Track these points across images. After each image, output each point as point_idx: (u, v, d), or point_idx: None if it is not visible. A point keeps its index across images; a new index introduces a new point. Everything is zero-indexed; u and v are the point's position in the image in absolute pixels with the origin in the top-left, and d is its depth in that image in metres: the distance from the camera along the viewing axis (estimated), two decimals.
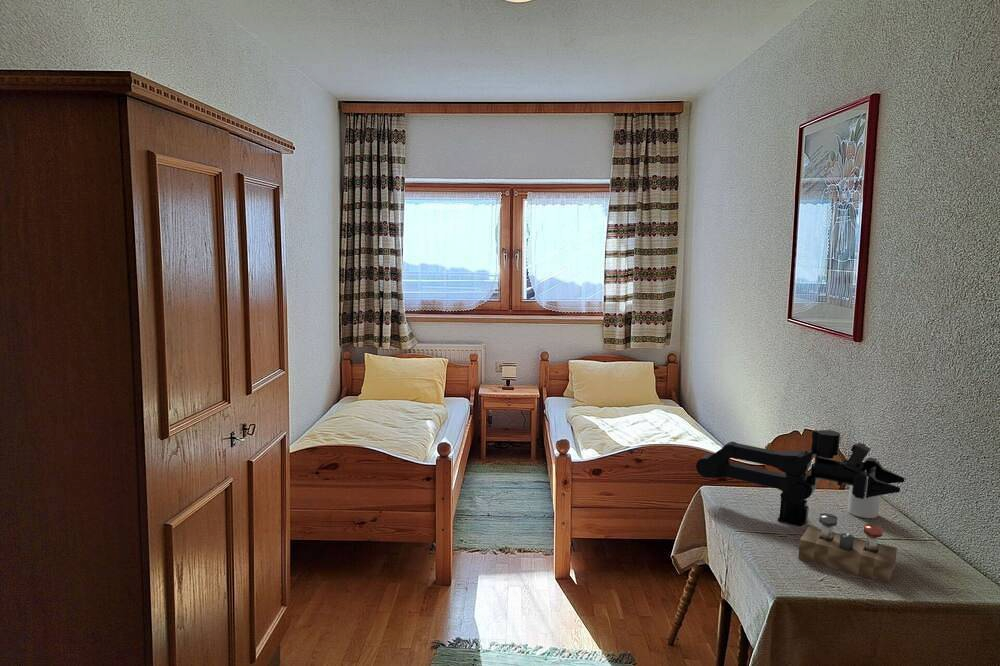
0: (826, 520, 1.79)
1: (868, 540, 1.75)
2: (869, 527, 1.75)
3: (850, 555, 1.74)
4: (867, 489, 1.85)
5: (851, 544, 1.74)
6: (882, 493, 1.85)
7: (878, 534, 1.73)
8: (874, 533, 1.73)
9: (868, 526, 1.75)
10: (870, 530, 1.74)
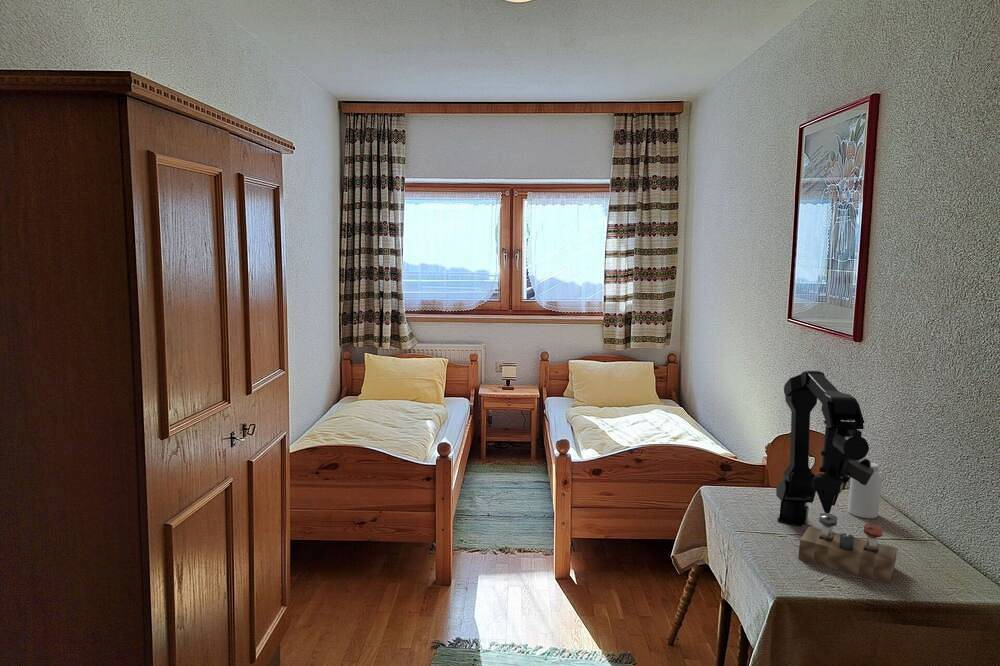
0: (826, 520, 1.79)
1: (868, 540, 1.75)
2: (869, 527, 1.75)
3: (850, 555, 1.74)
4: None
5: (851, 544, 1.74)
6: (820, 498, 1.77)
7: (878, 534, 1.73)
8: (874, 533, 1.73)
9: (868, 526, 1.75)
10: (870, 530, 1.74)
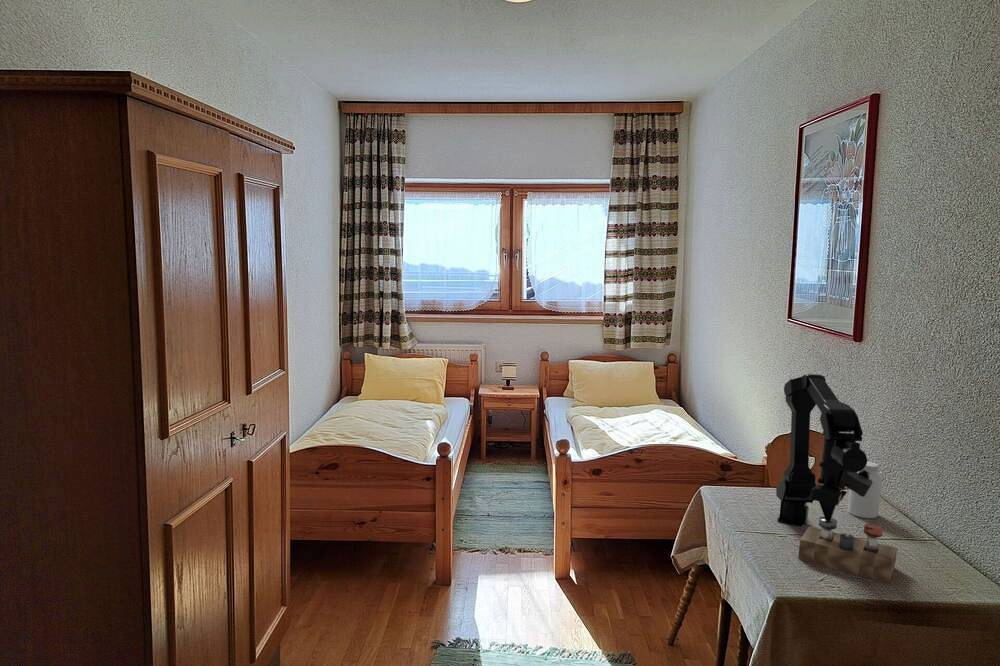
0: (826, 523, 1.79)
1: (868, 540, 1.75)
2: (869, 527, 1.75)
3: (850, 555, 1.74)
4: None
5: (851, 544, 1.74)
6: (822, 506, 1.80)
7: (878, 534, 1.73)
8: (874, 533, 1.73)
9: (868, 526, 1.75)
10: (870, 530, 1.74)
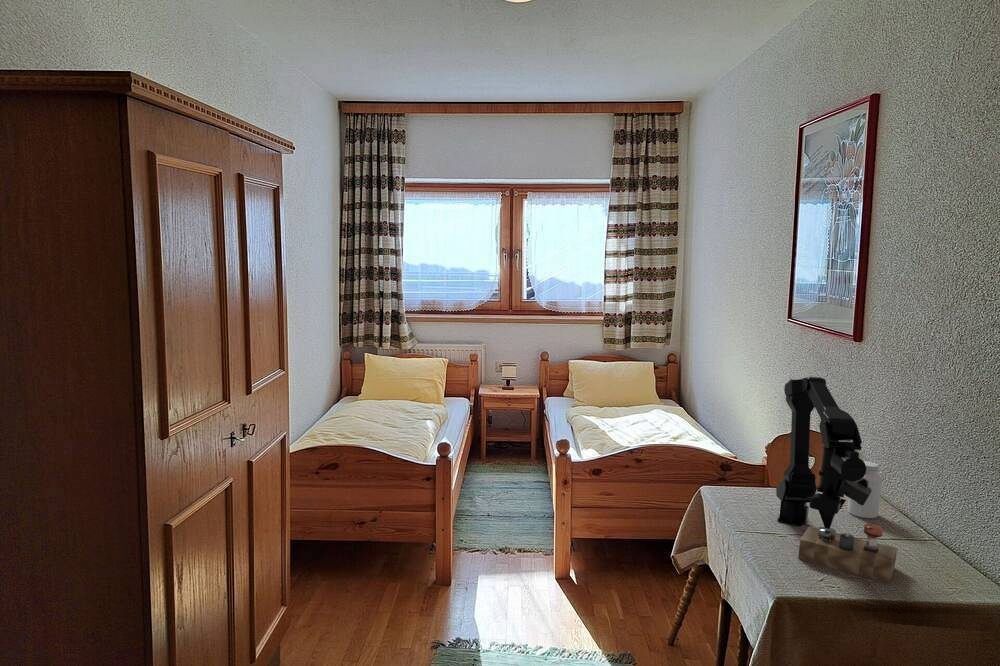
0: (825, 533, 1.79)
1: (868, 540, 1.75)
2: (869, 527, 1.75)
3: (850, 555, 1.74)
4: None
5: (851, 544, 1.74)
6: (821, 514, 1.80)
7: (878, 534, 1.73)
8: (874, 533, 1.73)
9: (868, 526, 1.75)
10: (870, 530, 1.74)
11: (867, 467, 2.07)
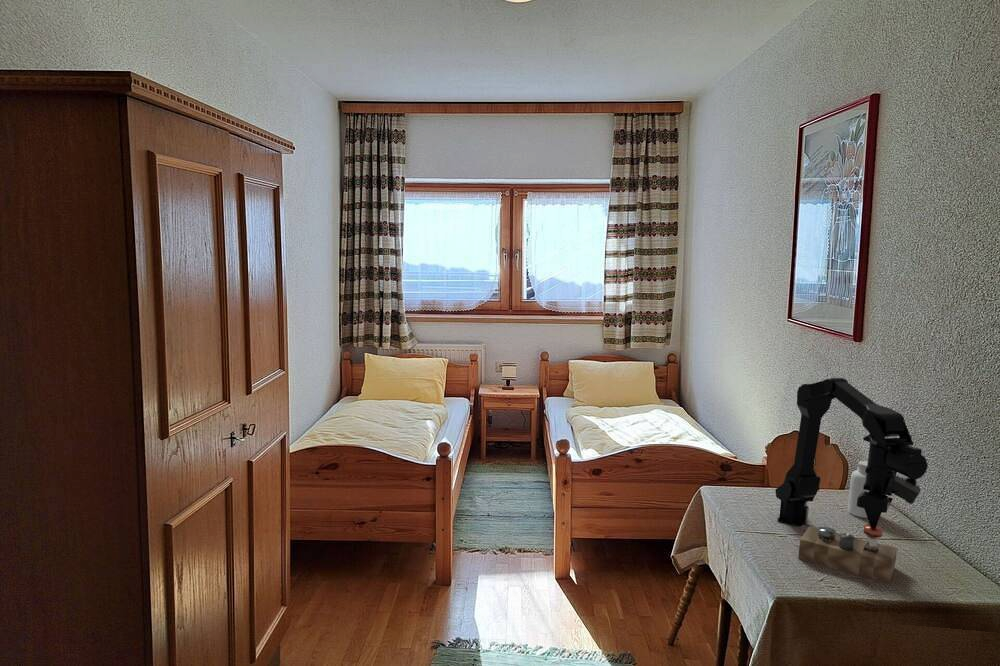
0: (825, 533, 1.79)
1: (868, 540, 1.75)
2: (869, 527, 1.75)
3: (850, 555, 1.74)
4: None
5: (851, 544, 1.74)
6: (867, 513, 1.74)
7: (878, 535, 1.73)
8: (874, 533, 1.73)
9: (868, 526, 1.75)
10: (870, 530, 1.74)
11: None
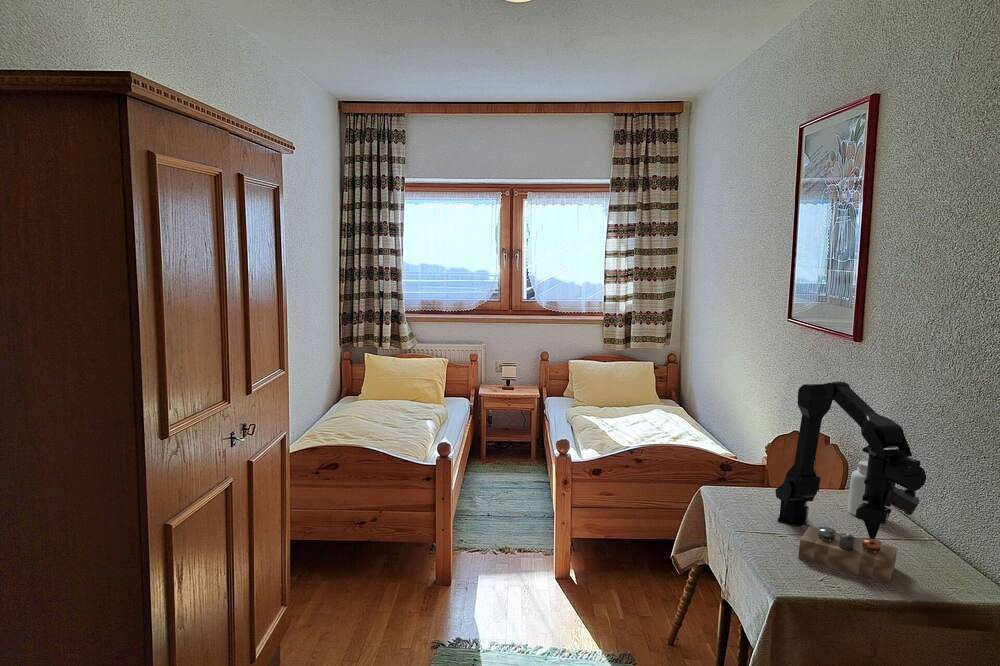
0: (825, 533, 1.79)
1: None
2: (867, 541, 1.75)
3: (850, 555, 1.74)
4: None
5: (851, 544, 1.74)
6: (866, 524, 1.74)
7: (876, 548, 1.74)
8: (872, 547, 1.74)
9: (866, 540, 1.76)
10: (868, 544, 1.74)
11: None
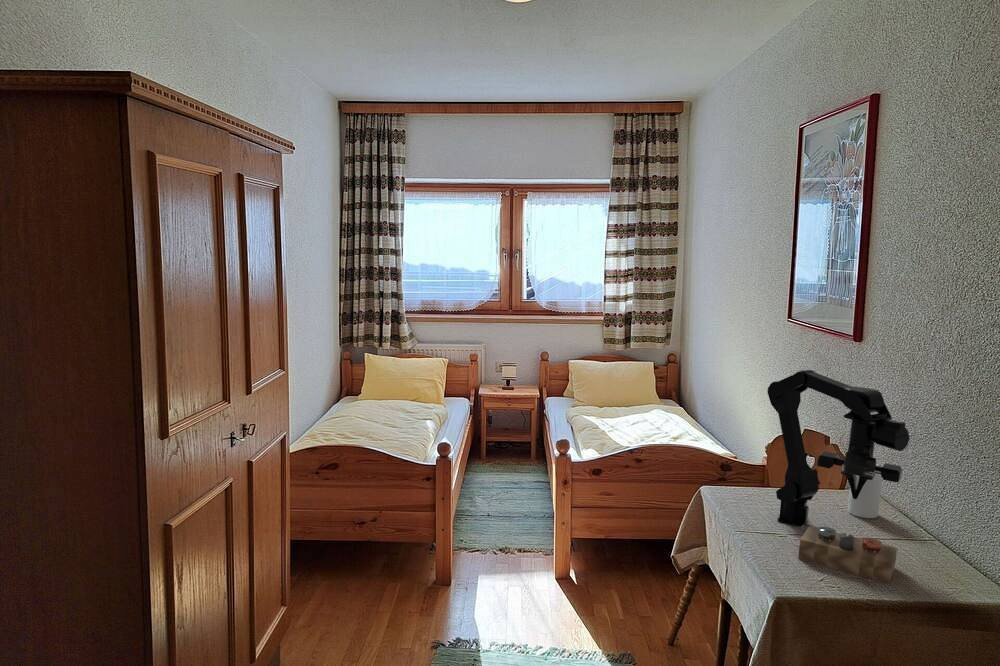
0: (825, 533, 1.79)
1: None
2: (867, 541, 1.75)
3: (850, 555, 1.74)
4: None
5: (851, 544, 1.74)
6: None
7: (876, 548, 1.74)
8: (872, 547, 1.74)
9: (866, 540, 1.76)
10: (868, 544, 1.74)
11: None
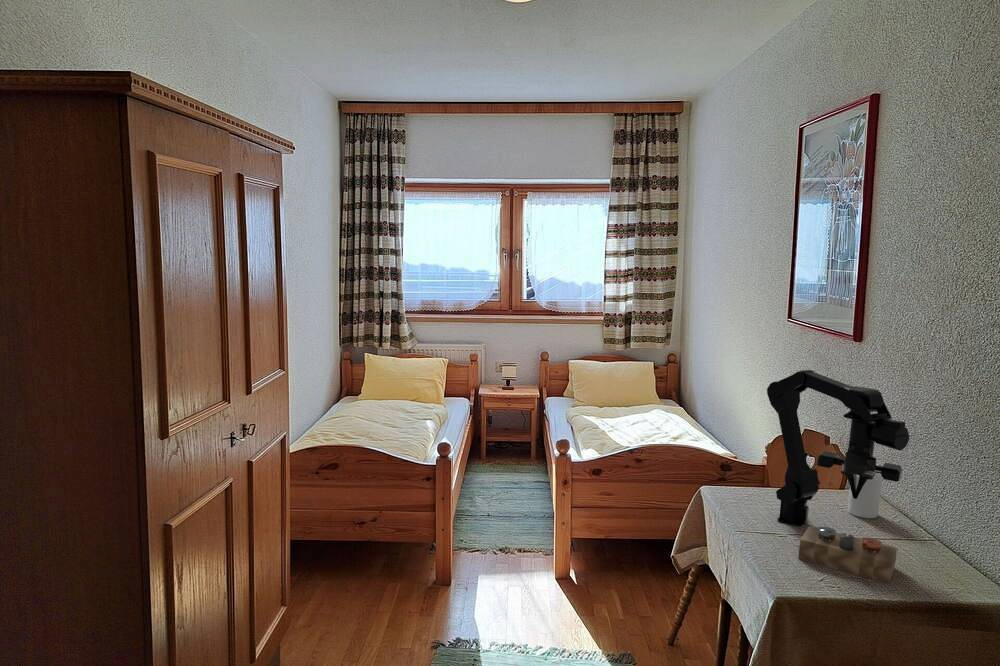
0: (825, 533, 1.79)
1: None
2: (867, 541, 1.75)
3: (850, 555, 1.74)
4: None
5: (851, 544, 1.74)
6: None
7: (876, 548, 1.74)
8: (872, 547, 1.74)
9: (866, 540, 1.76)
10: (868, 544, 1.74)
11: None
